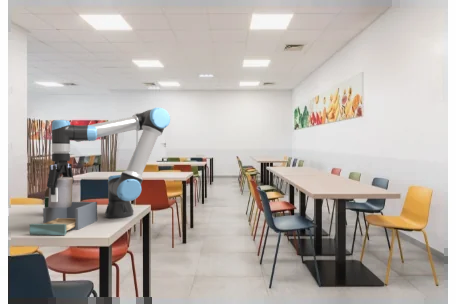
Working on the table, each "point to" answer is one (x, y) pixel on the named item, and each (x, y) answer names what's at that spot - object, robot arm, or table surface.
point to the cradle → (73, 213)
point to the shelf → (53, 227)
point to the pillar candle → (62, 193)
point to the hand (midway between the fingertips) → (61, 199)
